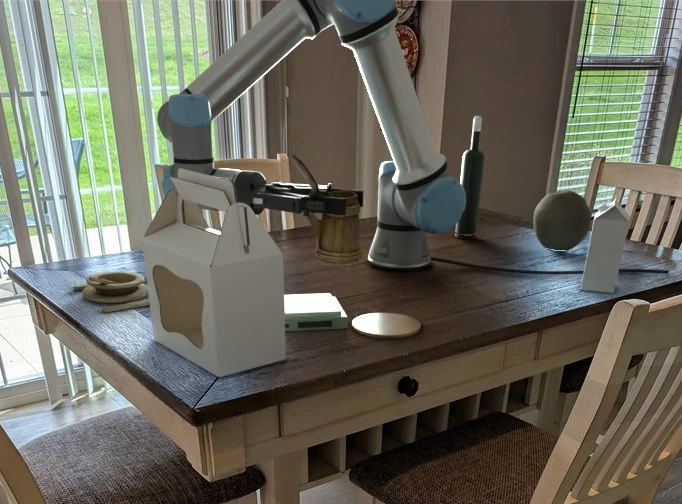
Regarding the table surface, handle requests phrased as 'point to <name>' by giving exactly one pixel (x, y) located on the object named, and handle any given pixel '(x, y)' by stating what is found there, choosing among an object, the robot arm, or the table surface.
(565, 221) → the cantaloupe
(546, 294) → the table surface
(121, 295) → the tableware set
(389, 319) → the golden round disc
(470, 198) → the wine bottle
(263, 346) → the gable box
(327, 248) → the wooden mug
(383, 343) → the table surface
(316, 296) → the kitchen scale
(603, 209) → the milk carton
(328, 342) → the table surface
